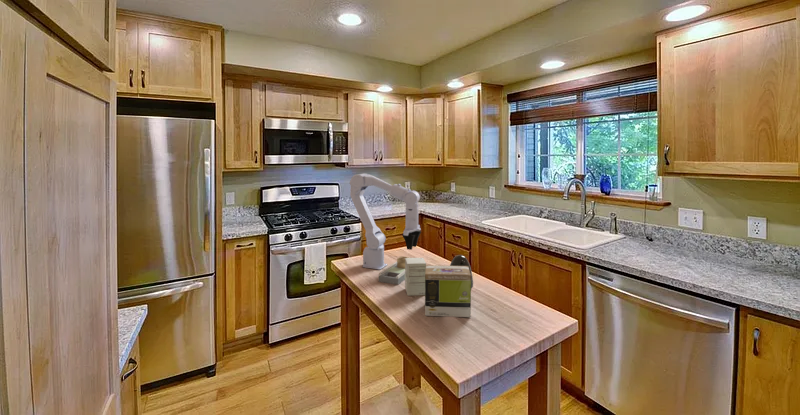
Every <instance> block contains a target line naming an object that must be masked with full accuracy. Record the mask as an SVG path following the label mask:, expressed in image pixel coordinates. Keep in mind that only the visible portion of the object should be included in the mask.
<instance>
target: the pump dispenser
mask: <svg viewBox="0 0 800 415" xmlns="http://www.w3.org/2000/svg"><path fill="white" fill-rule="evenodd" d="M449 266H468V267H469V271H470V274H471V290H472V289H473V287H474V277H473V276H474V275H473V273H472V268H471V265H470V262H469V260H468V258H467V257H466V256H465V255H463V254H458V255H457V254H456V255H455V256H454V257H453V259H452V260H451V262H450V264H449Z"/></svg>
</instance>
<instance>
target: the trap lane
mask: <svg viewBox="0 0 800 415" xmlns="http://www.w3.org/2000/svg"><path fill="white" fill-rule="evenodd" d="M404 281H405V268H398V267H397V261H395V262H394V263H392V264H390V265H388V267H387V266H386V267H385V268H384V269H382V270H381V271H380V272H378V282H379V283H380V282H381V283H385V284H392V285H397V286H398V285H400V284H401V283H403V282H404Z"/></svg>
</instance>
